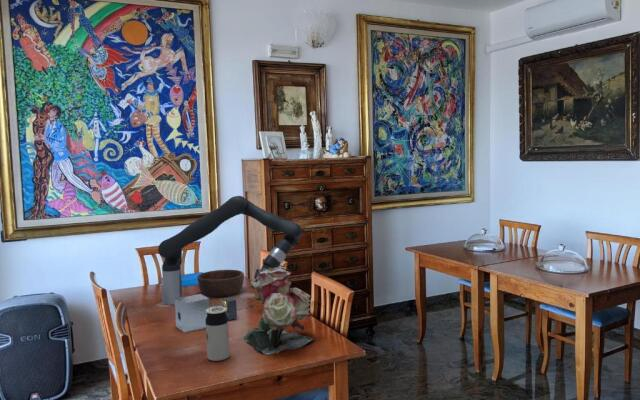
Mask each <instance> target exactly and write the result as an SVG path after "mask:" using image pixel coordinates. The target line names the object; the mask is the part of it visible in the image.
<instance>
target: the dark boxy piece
mask: <svg viewBox="0 0 640 400" xmlns="http://www.w3.org/2000/svg"><path fill="white" fill-rule="evenodd" d="M236 304H237V299H235V298H234V297H232V296H228V297H223V298H222V300H221V302H220V304H218V305H214V306H210V308H212V307H225V308H226V309H227V310H226V315H227V317H228V321H231V320H234V319H238V311H237V305H236Z"/></svg>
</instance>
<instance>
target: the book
mask: <svg viewBox="0 0 640 400" xmlns="http://www.w3.org/2000/svg"><path fill="white" fill-rule="evenodd" d="M202 273H204V272H202V271H200V272H193V273H186V274H181V279H182V288H184V287H185V288H186V287H190V286H199V284H198V279H197V277H198V275H200V274H202ZM161 284H162V285H163V277H161Z"/></svg>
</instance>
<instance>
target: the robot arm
mask: <svg viewBox="0 0 640 400" xmlns="http://www.w3.org/2000/svg"><path fill="white" fill-rule="evenodd" d="M240 215H245V216H248V217H250V218H253V219H254V220H256V221H257V222H259V223H260V224H261V225H263V226H264V227H266V228H268V229H270V230H272V231H275V232H276V233H283V234H284V236H283V237H282V238H281V239H280V240H279V241H278V242H277V243H276V245H275V246H274V247H273V248H272V249H271V251H269V253H268V254H267V256H266V257H265V258H264V260H263V262H262V263H263V265H262V266H261V267H260V269H259V268H257V269H256V270H255V273H254V281H259V279H261V277H260V276H259V274H258V273H257V272H263V271H265V270H266V269H269V268H275V267H281V266H280V265H282V263H283V262H284V261H285V259H286V258H287V255H288V254H289V253H290V252H291V250H292V248H293V247H295V245H296V244H297V243H298V242H299V241H300V239H301V238H302V233H303V229H302V226H300V225H299V224H298V223H296V222H294V221H291V220H288V219H284V218H282V217H279V216H278V215H276V214H273V213H271V212H269V211H267V210H265V209H263V208H261V207H260V206H258V205H256V204H254V203H252V202H251V201H250V200H248V199H247V198H246V197H244V196H242V195H236V196H232V197H230V198H229V199H227V200H226V201H225V202H224V203H223V204H221V205H220V206H219V207H217V208H215V209H214V210H212V211H209V212H208V213H207V214H204V215H202V216H200V217H199V218H198V219H196V220H194V221H193V222H192V223H190V224H189V225H187V226H185V228H184V229H181V231H179V232H178V233H177V234H175V235H173V236H171V237H169V238H166V239H164V240H162V241H161V242H159V245H158V247H157V251H158V254H159V255H160V257H163V258H164V260H163V263H162V265H161V270H162V278H163V284H162V285H161V298H162V299H161V301H162V305H166V306H175V299H176V298H182V297H183V287H182V279H181V275H182V267H181V266H182V263H183V256H182V255H183V248H185V247H187V246H188V245H191V244H193V243H195V242H198V241H200V240H202V239H203V238H205V237H206V236H207V237H208V235H210V234H211V233H213V232H215V230H217V229H218V228H219V227H220V226H222V224H223V223H225V222H226V221H228V220H230V219H232V218H234V217H236V216H240ZM270 272H271V271H270ZM250 287H251V288H252V289H253V290H255V289H254V287H253V286H252V284H251V285H250Z"/></svg>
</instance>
